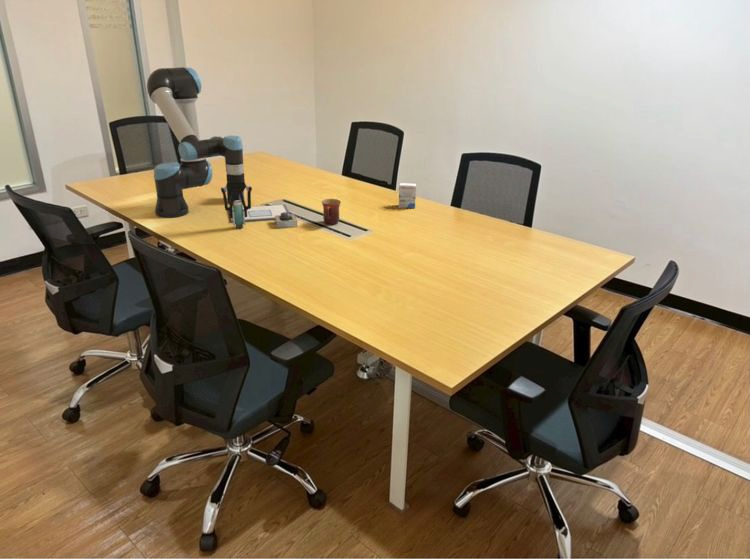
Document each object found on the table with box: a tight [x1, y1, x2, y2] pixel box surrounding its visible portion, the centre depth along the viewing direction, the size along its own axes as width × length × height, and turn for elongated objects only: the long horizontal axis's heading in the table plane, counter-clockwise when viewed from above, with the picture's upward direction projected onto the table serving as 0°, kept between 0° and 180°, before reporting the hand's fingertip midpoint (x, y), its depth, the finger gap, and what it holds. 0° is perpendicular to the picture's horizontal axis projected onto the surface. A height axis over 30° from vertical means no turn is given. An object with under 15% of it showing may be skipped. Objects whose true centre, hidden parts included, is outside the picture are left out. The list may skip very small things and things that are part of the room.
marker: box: [233, 200, 244, 230], centre depth 252 cm, size 4×4×12 cm
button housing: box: [274, 213, 298, 229], centre depth 260 cm, size 9×9×3 cm
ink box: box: [397, 182, 417, 209], centre depth 287 cm, size 9×5×12 cm, turn 84°
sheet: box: [228, 204, 291, 224], centre depth 273 cm, size 28×20×1 cm
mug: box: [321, 198, 342, 226], centre depth 261 cm, size 12×9×10 cm
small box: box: [225, 183, 245, 204], centre depth 289 cm, size 11×6×10 cm, turn 179°
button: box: [281, 212, 291, 220], centre depth 259 cm, size 4×4×3 cm
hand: (239, 224), depth 254 cm, fingers closed on marker, 4 cm apart
